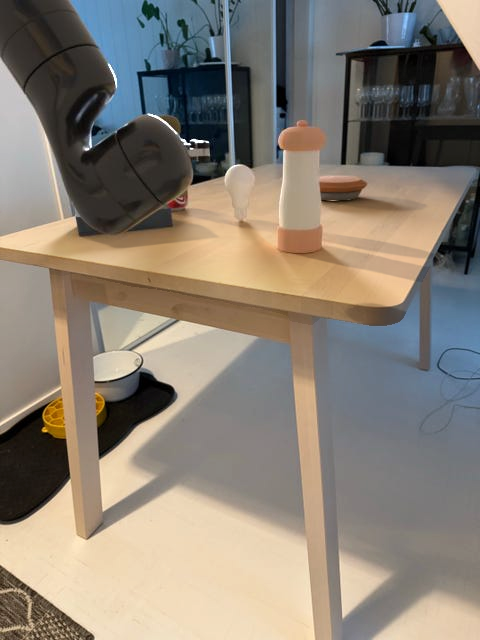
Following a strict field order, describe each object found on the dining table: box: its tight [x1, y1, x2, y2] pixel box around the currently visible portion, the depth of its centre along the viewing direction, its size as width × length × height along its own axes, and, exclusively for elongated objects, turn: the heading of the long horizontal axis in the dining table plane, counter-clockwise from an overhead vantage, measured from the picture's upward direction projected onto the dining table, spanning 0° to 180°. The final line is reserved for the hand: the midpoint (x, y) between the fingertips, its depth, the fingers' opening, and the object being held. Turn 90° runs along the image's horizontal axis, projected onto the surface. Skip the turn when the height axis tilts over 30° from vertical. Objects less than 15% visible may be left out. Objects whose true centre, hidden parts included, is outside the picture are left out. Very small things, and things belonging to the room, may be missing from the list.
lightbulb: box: [224, 164, 256, 221], centre depth 92 cm, size 6×6×11 cm
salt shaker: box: [276, 119, 327, 254], centre depth 72 cm, size 7×7×19 cm
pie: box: [319, 174, 368, 201], centre depth 115 cm, size 15×16×5 cm
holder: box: [74, 204, 174, 237], centre depth 92 cm, size 18×10×4 cm, turn 109°
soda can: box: [167, 188, 189, 212], centre depth 106 cm, size 7×7×12 cm
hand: (165, 147), depth 69 cm, fingers closed on cork, 4 cm apart
